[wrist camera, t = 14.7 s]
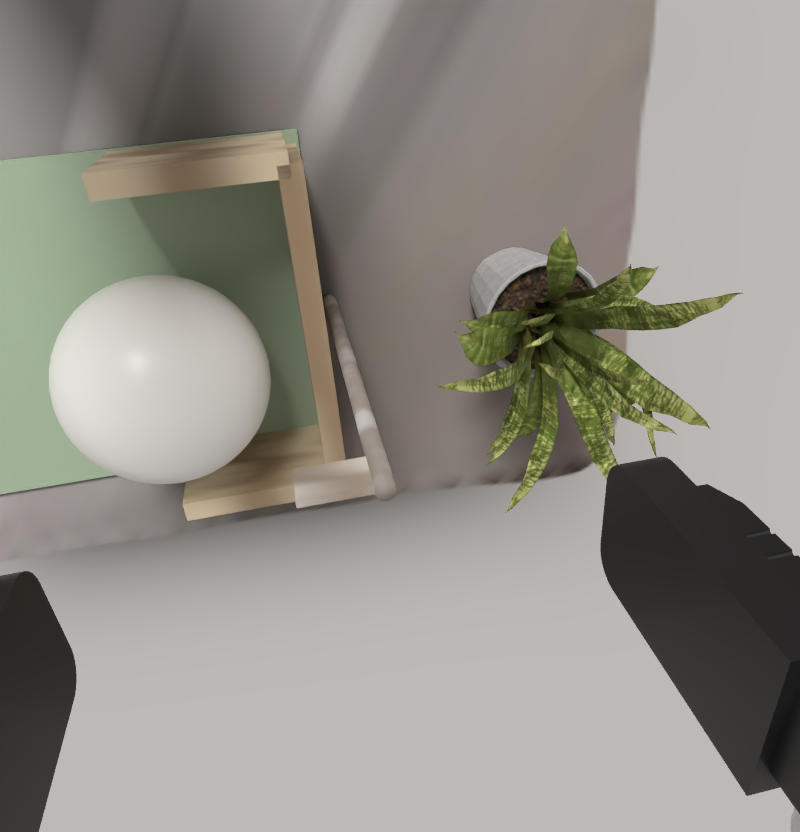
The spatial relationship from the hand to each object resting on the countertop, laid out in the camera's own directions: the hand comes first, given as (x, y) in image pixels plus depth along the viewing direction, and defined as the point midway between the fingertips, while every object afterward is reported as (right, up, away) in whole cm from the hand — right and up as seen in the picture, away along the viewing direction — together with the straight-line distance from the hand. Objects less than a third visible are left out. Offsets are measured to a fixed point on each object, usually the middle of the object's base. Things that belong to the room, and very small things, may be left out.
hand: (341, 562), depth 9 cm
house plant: (+7, +10, +34) cm, 36 cm away
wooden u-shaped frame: (-8, +8, +31) cm, 33 cm away
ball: (-12, +4, +26) cm, 29 cm away
